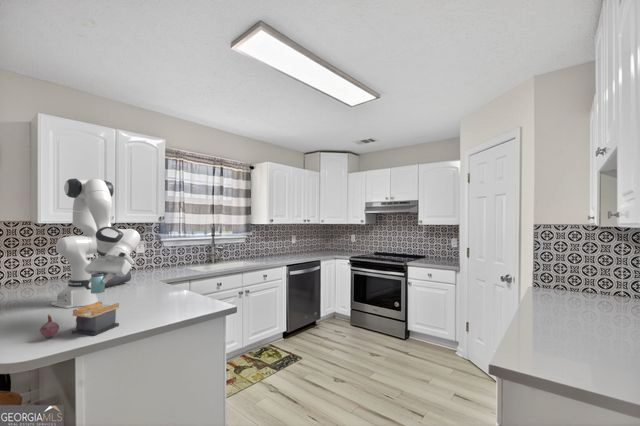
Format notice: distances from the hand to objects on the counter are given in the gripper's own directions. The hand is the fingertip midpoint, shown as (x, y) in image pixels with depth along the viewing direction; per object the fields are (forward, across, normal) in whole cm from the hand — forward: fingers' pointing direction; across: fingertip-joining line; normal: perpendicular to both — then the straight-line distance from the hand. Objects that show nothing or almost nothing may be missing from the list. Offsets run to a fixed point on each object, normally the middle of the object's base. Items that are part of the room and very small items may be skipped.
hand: (96, 282), depth 133 cm
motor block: (+15, -1, +15) cm, 21 cm away
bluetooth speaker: (-32, -59, +62) cm, 92 cm away
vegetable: (+24, -10, +7) cm, 26 cm away
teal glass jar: (+3, 0, +4) cm, 5 cm away
